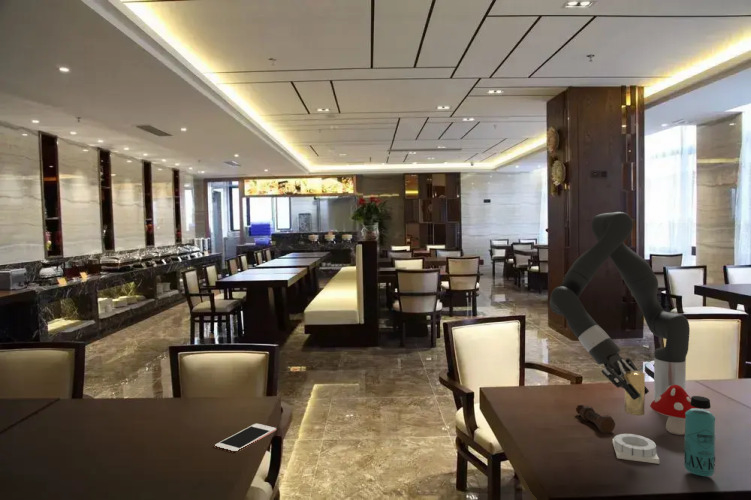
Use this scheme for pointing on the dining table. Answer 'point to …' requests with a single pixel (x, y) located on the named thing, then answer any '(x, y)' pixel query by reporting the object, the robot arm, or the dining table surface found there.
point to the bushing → (639, 384)
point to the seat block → (635, 448)
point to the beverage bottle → (699, 438)
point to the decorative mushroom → (673, 408)
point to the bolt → (596, 418)
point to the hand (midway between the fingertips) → (641, 395)
